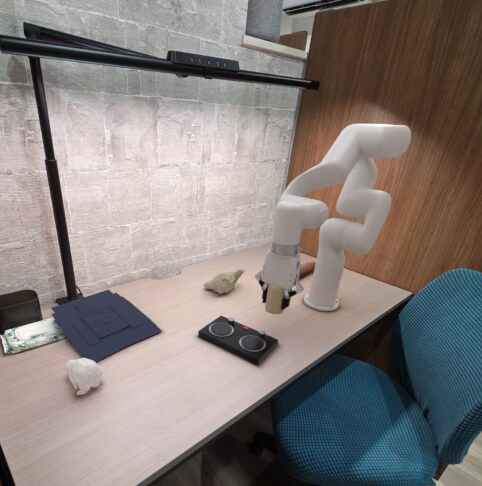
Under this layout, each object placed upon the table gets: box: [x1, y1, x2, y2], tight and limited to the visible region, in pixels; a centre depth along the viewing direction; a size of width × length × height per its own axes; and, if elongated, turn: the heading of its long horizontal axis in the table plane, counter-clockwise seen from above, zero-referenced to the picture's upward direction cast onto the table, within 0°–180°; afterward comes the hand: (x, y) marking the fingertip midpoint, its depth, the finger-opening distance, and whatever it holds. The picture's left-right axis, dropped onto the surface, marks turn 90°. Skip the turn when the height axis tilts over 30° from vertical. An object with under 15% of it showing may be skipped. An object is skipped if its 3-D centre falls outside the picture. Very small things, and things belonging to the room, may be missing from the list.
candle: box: [264, 284, 285, 315], centre depth 94 cm, size 6×6×10 cm
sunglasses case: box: [299, 261, 316, 280], centre depth 143 cm, size 18×7×7 cm, turn 135°
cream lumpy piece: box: [203, 268, 246, 295], centre depth 124 cm, size 15×7×15 cm
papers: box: [50, 288, 163, 363], centre depth 100 cm, size 24×30×4 cm
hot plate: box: [197, 315, 279, 366], centre depth 95 cm, size 12×21×3 cm, turn 52°
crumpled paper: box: [65, 357, 103, 396], centre depth 76 cm, size 6×8×12 cm
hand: (274, 304), depth 96 cm, fingers closed on candle, 5 cm apart
